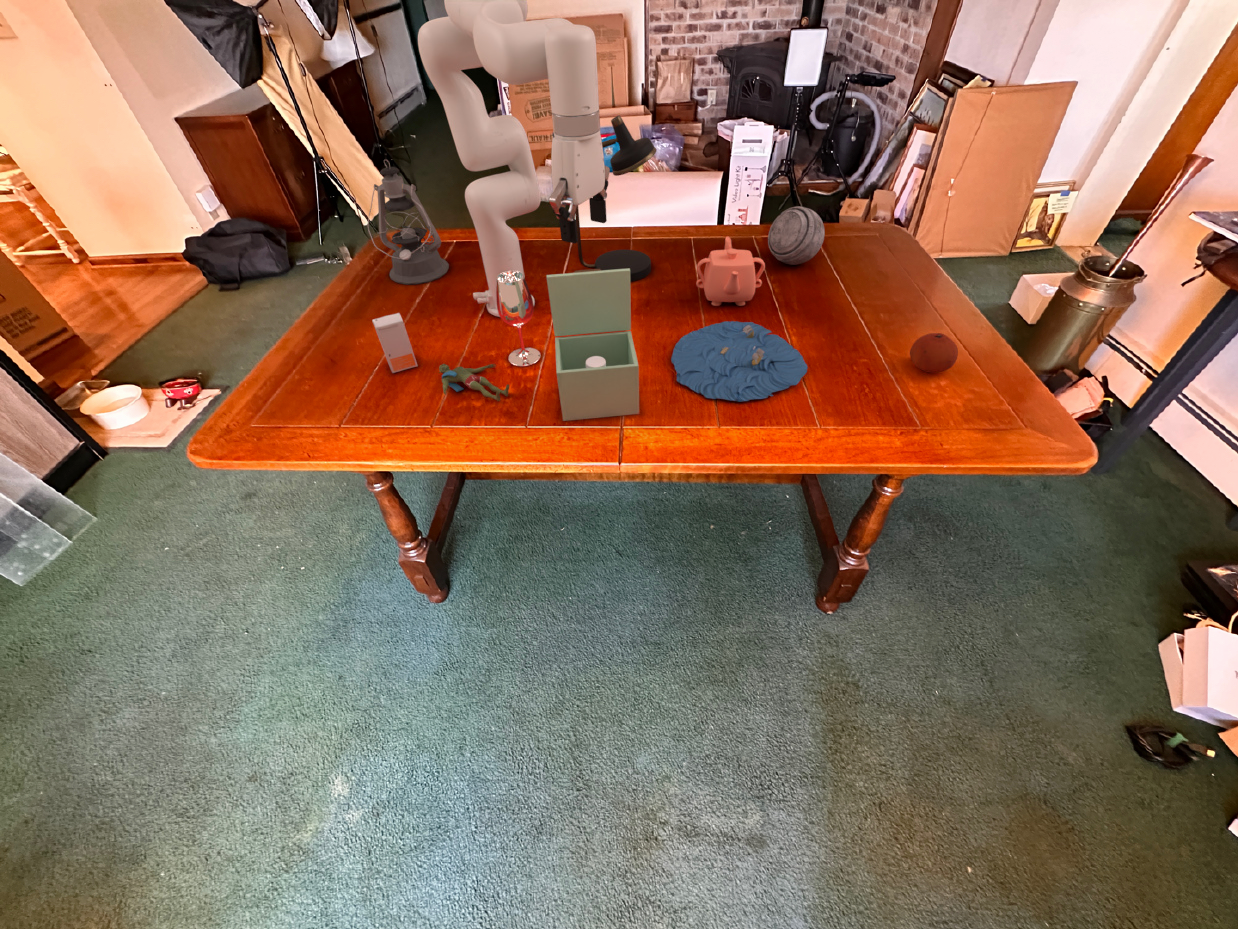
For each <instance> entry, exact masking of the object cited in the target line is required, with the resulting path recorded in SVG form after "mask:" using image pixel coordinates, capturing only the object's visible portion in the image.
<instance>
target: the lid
mask: <svg viewBox="0 0 1238 929" xmlns="http://www.w3.org/2000/svg"><path fill="white" fill-rule="evenodd" d="M546 283H547V291H548V299H549V306H550V312H551V319H552V325H553V326H552V327H553V333H554V337H567V336H579V335H590V334H602V333H614V332H625V331H631V330H632V310H631V309H632V308H631V307H632V306H631V305H632V304H631V302H632V300H631V299H632V298H631V282H630V268H628V269H615V270H603V271H601V269H595V268H589V269H578V270H574V272H568V273H556V274H546Z"/></svg>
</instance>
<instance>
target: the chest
mask: <svg viewBox="0 0 1238 929" xmlns="http://www.w3.org/2000/svg"><path fill="white" fill-rule="evenodd" d="M554 343H555V344H554V346H555V347H554V348H555V369H556V379H557V387H558V395H559V400H560V408H561V415H562V422H568V421H579V420H587V419H588V420H589V419H599V418H609V417H610V418H611V417H617V416H618V417H620V416H631V415H640V370H639V369H640V368H639V362H638V361H639V360H638V357H637V352H636V349H635V348H636V347H635V344H634V340H633V334H632V331H631V330H624V331H613V332H601V333H590V334H578V335H567V336H555V338H554ZM593 356H600V357H603V358H604V359H605V361H606V366H605V367H594V368H586V360H587V359H588V358H590V357H593Z"/></svg>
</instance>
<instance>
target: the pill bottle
mask: <svg viewBox="0 0 1238 929" xmlns="http://www.w3.org/2000/svg"><path fill="white" fill-rule="evenodd" d="M605 366H606V361H605V359H604V358H603V357H600V356H593V357H590V358H588V359H587V360H586V368H594V367H605Z"/></svg>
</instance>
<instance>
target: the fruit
mask: <svg viewBox="0 0 1238 929" xmlns="http://www.w3.org/2000/svg"><path fill="white" fill-rule="evenodd" d="M958 348H959V347H958V345H957V344H956V342H955V341H953V339H952V338H951V337H949V336H948V335H946V334H944V333H942V332H932V333H927V334H924V335H921V336H920V337H918V338H917V339H916V340H915V341H914V342H913V343H912V345H911V347H910V350H909V357H910V360H911V362H912V364H913V365H914V366H915V367H916V368H917V369H919V370H921V371H923V372H926V373H931V374H933V373H941V372H944V371H948V370H949V369H951V368H952V367H953V366H954V365H955V364H956V362H957V359H958V355H959V349H958Z"/></svg>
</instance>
